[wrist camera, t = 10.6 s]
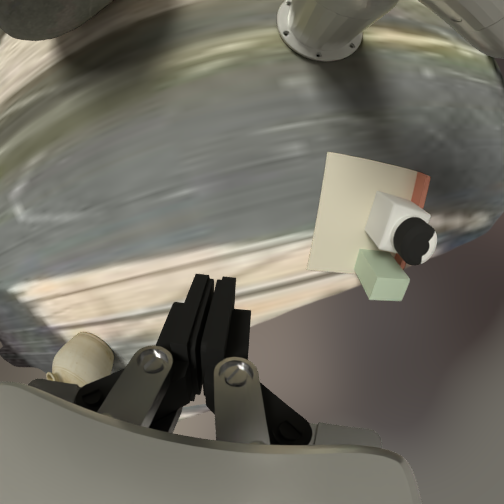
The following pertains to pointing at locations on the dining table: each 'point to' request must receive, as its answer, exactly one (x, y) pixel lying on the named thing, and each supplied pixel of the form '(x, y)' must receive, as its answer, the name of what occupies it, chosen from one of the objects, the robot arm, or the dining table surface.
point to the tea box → (381, 275)
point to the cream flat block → (356, 208)
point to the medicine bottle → (401, 228)
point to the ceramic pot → (45, 17)
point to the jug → (82, 360)
